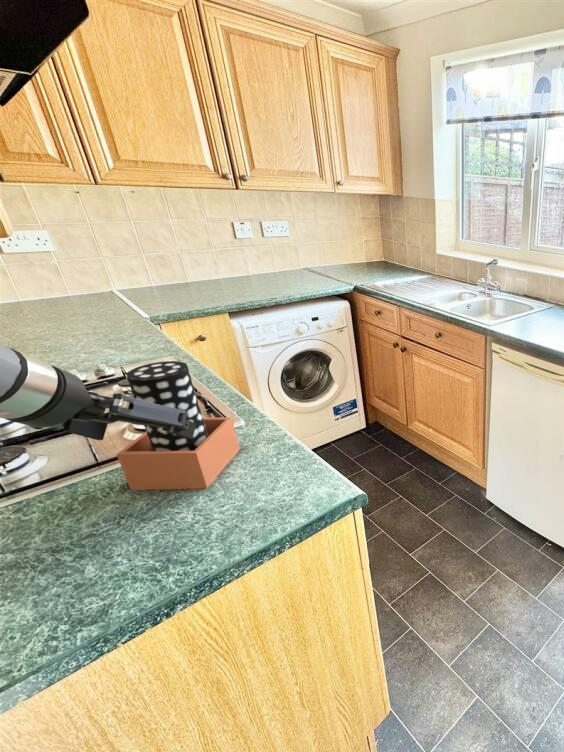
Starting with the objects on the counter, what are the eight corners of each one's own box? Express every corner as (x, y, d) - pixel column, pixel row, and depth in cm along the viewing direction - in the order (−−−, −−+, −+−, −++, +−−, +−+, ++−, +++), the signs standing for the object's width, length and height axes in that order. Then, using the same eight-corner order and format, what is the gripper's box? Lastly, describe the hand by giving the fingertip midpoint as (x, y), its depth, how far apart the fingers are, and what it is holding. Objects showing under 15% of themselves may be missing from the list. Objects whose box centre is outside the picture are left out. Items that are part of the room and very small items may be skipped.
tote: (131, 490, 75) (116, 454, 71) (174, 450, 86) (163, 417, 83) (207, 488, 76) (196, 453, 73) (240, 449, 87) (231, 417, 84)
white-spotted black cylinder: (159, 462, 81) (124, 367, 72) (210, 448, 86) (184, 357, 78) (163, 484, 75) (127, 384, 67) (218, 467, 80) (190, 372, 72)
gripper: (-111, 421, 47) (56, 455, 67) (131, 419, 51) (223, 452, 70) (-82, 360, 50) (71, 410, 70) (147, 362, 53) (231, 409, 73)
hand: (148, 431), depth 70 cm, fingers open, 13 cm apart
